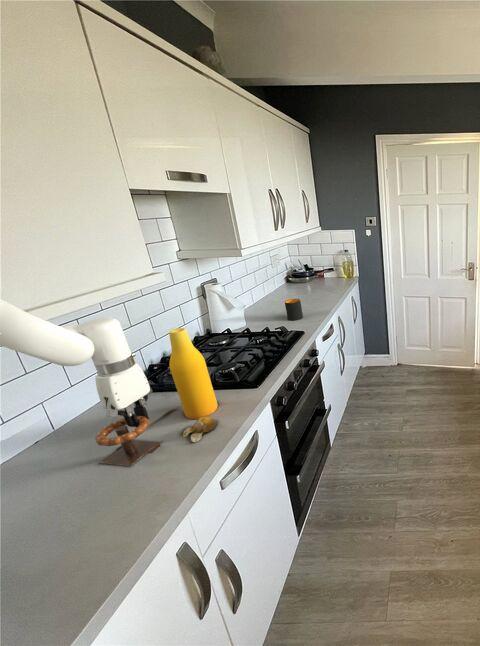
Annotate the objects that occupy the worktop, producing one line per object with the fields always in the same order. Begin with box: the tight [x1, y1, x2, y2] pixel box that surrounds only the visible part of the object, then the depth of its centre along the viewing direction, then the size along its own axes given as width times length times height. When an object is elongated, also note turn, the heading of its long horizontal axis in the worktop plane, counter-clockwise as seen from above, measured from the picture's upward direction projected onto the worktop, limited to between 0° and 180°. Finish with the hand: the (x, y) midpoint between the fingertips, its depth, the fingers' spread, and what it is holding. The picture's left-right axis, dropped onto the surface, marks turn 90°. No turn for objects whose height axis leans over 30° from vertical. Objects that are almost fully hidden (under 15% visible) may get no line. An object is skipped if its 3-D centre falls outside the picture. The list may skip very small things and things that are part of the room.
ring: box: [94, 416, 151, 447], centre depth 93 cm, size 11×11×2 cm
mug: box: [284, 298, 304, 322], centre depth 198 cm, size 8×12×10 cm
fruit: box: [182, 416, 217, 443], centre depth 104 cm, size 8×8×4 cm
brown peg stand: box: [100, 425, 161, 467], centre depth 94 cm, size 9×9×9 cm
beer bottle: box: [168, 327, 218, 420], centre depth 109 cm, size 9×9×29 cm
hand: (138, 422), depth 97 cm, fingers closed on ring, 2 cm apart
